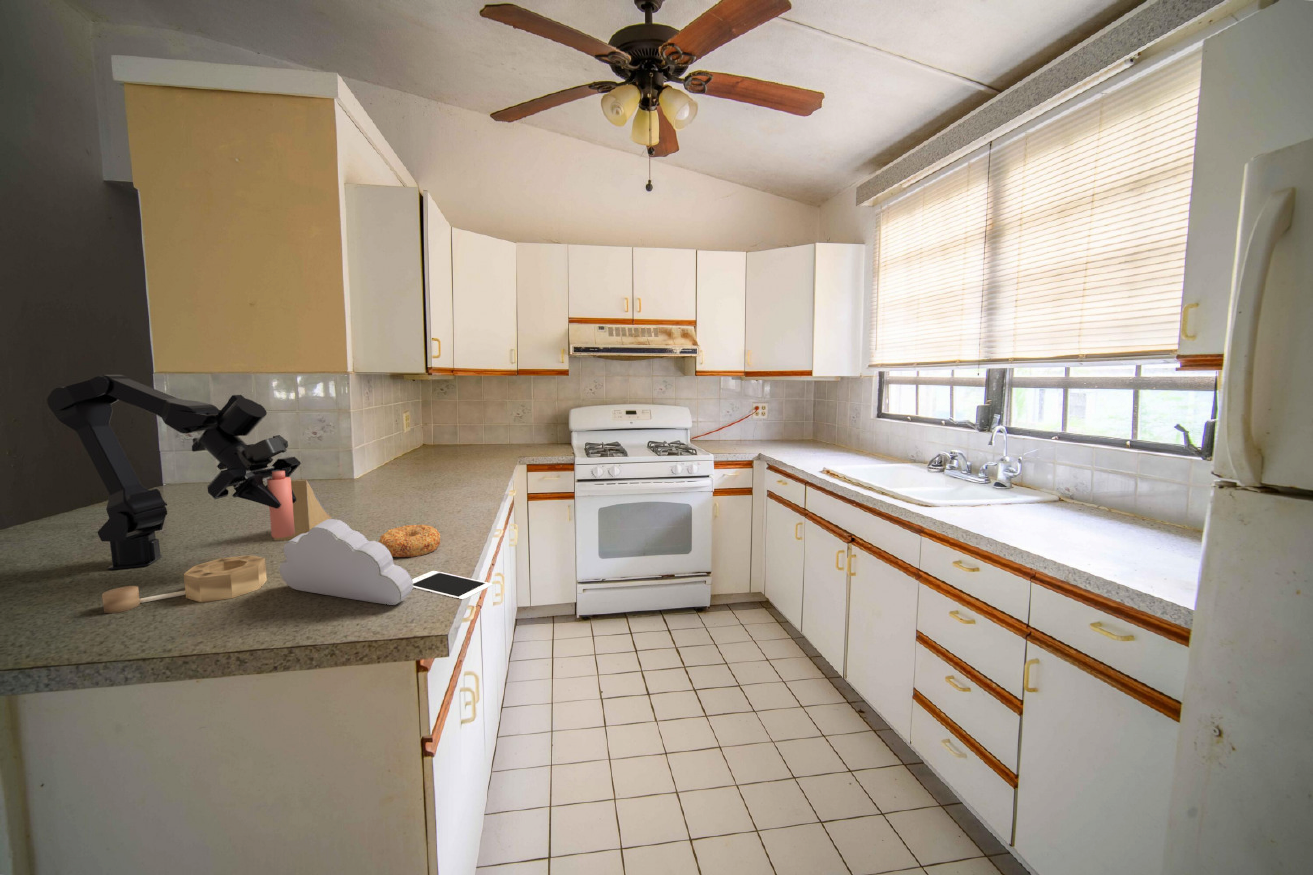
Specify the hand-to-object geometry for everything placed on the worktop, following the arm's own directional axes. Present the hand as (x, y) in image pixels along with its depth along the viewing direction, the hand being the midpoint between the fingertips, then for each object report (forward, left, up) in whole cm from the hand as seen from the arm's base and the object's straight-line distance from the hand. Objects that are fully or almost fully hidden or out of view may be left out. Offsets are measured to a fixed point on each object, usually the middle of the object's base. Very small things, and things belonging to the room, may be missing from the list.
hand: (287, 504), depth 110 cm
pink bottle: (-1, +1, -7) cm, 7 cm away
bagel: (+23, +2, -14) cm, 27 cm away
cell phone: (+30, -23, -14) cm, 40 cm away
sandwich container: (-3, +29, -14) cm, 33 cm away
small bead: (-22, -12, -13) cm, 29 cm away
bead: (-8, -9, -13) cm, 18 cm away
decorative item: (+13, -21, -14) cm, 29 cm away
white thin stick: (-17, -10, -13) cm, 24 cm away
